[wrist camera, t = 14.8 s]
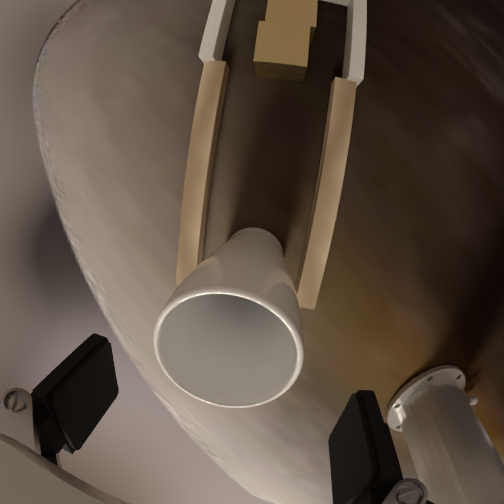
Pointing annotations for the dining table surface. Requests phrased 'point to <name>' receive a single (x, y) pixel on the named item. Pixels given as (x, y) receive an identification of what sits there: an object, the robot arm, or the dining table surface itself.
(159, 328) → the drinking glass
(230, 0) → the u-shaped frame
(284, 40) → the wooden cube
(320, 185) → the channel
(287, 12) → the tan cube
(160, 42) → the dining table surface
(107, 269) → the dining table surface
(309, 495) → the dining table surface
